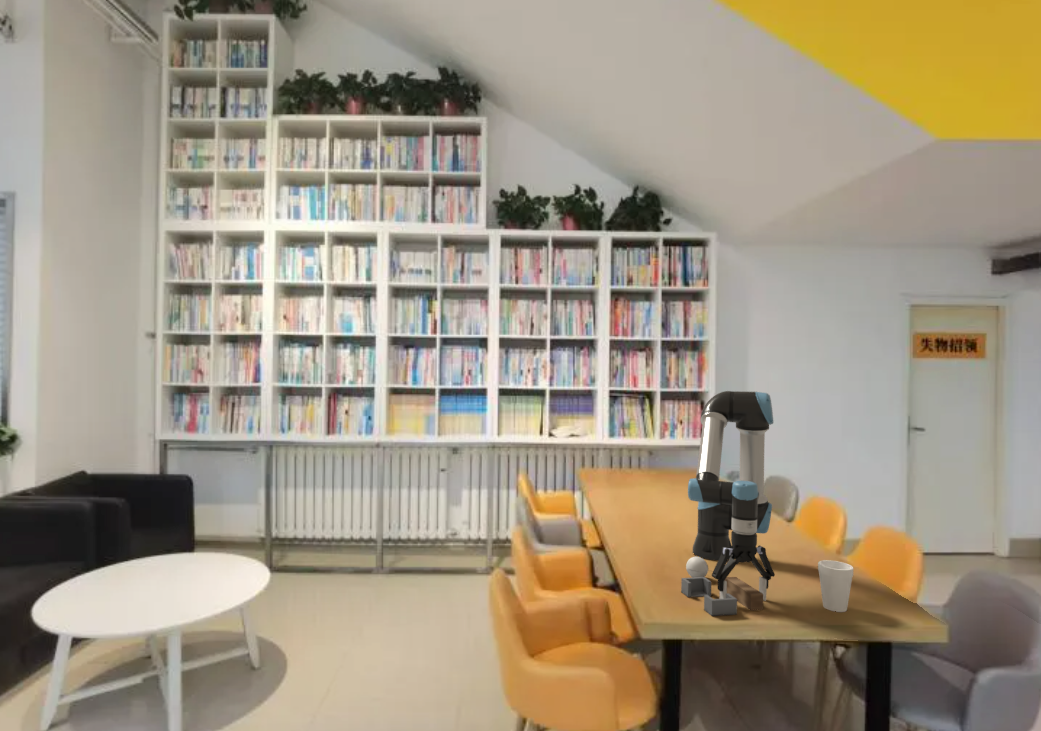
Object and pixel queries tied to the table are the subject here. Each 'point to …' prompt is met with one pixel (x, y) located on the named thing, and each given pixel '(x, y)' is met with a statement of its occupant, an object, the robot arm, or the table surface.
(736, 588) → the slat
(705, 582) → the cap
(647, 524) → the table surface
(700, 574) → the ball
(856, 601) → the table surface
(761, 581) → the robot arm
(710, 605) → the cap
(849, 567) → the foam cup
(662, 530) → the table surface
